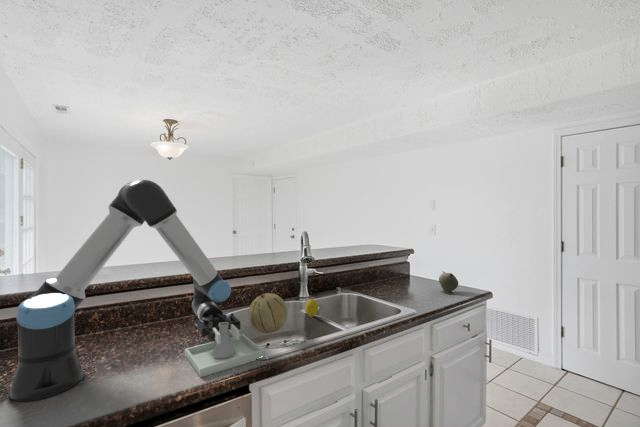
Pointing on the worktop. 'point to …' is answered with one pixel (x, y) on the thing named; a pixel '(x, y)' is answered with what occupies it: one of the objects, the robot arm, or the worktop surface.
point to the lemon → (311, 307)
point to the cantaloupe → (268, 313)
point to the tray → (208, 364)
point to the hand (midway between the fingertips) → (228, 337)
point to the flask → (224, 343)
